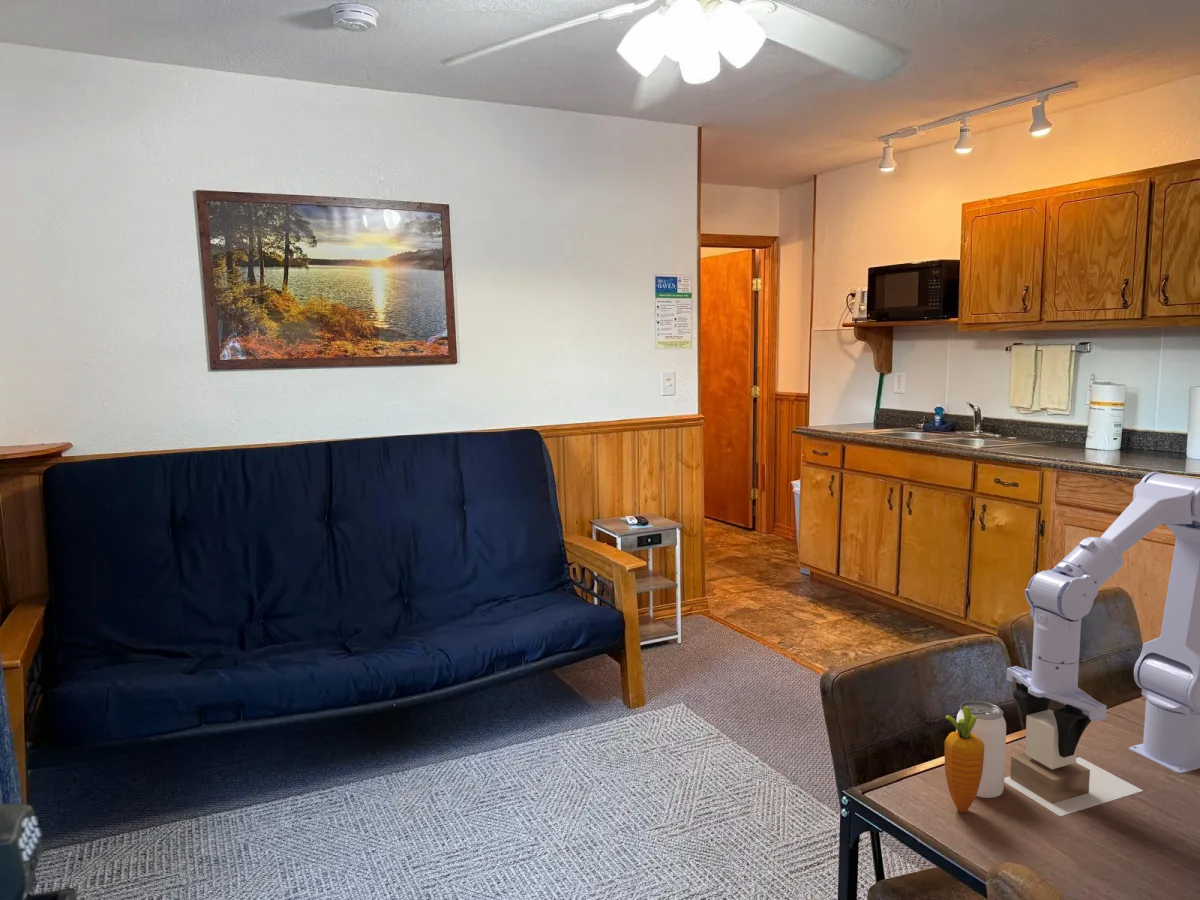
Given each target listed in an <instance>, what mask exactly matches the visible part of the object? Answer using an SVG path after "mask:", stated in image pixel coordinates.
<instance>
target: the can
mask: <svg viewBox="0 0 1200 900" xmlns="http://www.w3.org/2000/svg"><path fill="white" fill-rule="evenodd" d="M965 706H967V707H969V708H971V716H972V715H974V716H975V717H976V718H977V719H976V722H975V725H974V727H973V729H972V730H971V733H972V734H975V735H976V736H977V737H978V738H979V739H980V740H981V741H982V742H983V743H984V761H983V771H982V777H981V781H980V785H979V788H978V792H977V795H976V797H978V798H986V799H987V798H988V799H989V798H990V799H991V798H996V797H999V796H1001V795H1002V794H1003V792H1004V788H1005V782H1004V778H1005V773H1006V771H1005V769H1006V768H1005V767H1006V766H1005V765H1006V745H1007V744H1006V743H1007V742H1006V741H1007V722H1006V720H1005V718H1004V710H1002V709H1001V708H1000V707H999V706H997V705H995V704H993V703H989V702H986V701H981V700H980V701H979V700H970V701H965V702H963V703H961V705H960V706H959V710H958V713H957V715H956V721H957V723H958V722H959V720H960V719H964V713H963V707H965ZM955 732H957V730H956V729H955Z"/></svg>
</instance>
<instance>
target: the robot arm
mask: <svg viewBox="0 0 1200 900" xmlns="http://www.w3.org/2000/svg"><path fill="white" fill-rule="evenodd" d="M1160 525H1166V526H1167V527H1168V528H1167V529H1169V530H1170V531H1171V533H1172V534H1173V535H1174V536H1175V541H1174V542H1175V543H1174V548H1173V550H1174V551H1173V555H1172V562H1171V567H1170V568H1171V569H1170V574H1169V579H1168V585H1167V593H1166V599H1165V605H1164V610H1163V611H1164V612H1163V617H1162V624H1161V629H1160V635H1159V637H1156V638H1154V639H1150V640H1149V641H1146V642H1143V644H1142V649H1141V652H1140V655H1139V657H1138V659H1137V660H1136V661H1135V664H1134V667H1133V677H1134V678H1133V679H1134V682H1135V683H1136V685H1137V686H1138V687H1139V688H1141V695H1142V696H1143V697H1145V698H1146V700H1145V711H1144V712H1145V713H1144V723H1143V724H1144V725H1143V727H1144V729H1143V739H1142V741H1143V743H1139V744H1138V743H1137V744H1135V745H1133V746H1129V748H1128V751H1131V752H1133V753H1135V754H1138V755H1139V756H1142V757H1143V758H1146V759H1148V760H1150V761H1152V762H1154V763H1156V764H1158V765H1159V766H1162V767H1164V768H1166V769H1169V770H1170V771H1172V772H1175V773H1177V774H1186V773H1188V772H1191V771H1196V770H1198V769H1200V479H1198V478H1192V477H1187V476H1180V475H1174V474H1167V473H1163V472H1160V471H1151V472H1148V473H1147V474H1146V475H1144V476H1143V478H1142V479H1141V480H1140V482H1138V483H1137V484H1135V485H1134V486H1133V491H1132V501H1131V502H1130V503H1129V505H1128V506H1127V507H1126V508H1125V509H1124V510H1123V511H1122V512H1121V514H1120V515H1119V516H1118V517H1117V518H1116V519H1114V521H1113V523H1111V524H1110V526H1109V527H1108V528H1106V530H1105V531H1104V532H1103V533H1102V535H1101V536H1100V537H1097V536H1088V537H1086V538H1083V539H1082V540H1081V541H1080V542H1079V543H1078V545H1076V546H1075V547H1074V549H1073V550H1071V551H1070V552H1069V553H1068V554H1067V555H1066V556H1064V558H1063V559H1061V561H1059V562H1058V563H1057V564H1056V565H1055V566H1054V567H1053V568H1052V569H1046V570H1042V571H1038V572H1036V573H1035V574H1033V576H1032V577H1031V578H1030V580H1029V581H1028V585H1027V588H1025V589H1024V596H1025V600H1026V602H1027V604H1028V606H1029V607H1030V617H1031V619H1032V620H1033V633H1032V634H1033V636H1032V637H1033V639H1032V655H1031V656H1032V659H1031V670H1029V669H1025V668H1024V667H1023V668H1022V667H1020V666H1018V665H1015V666H1011V667H1007V668H1006V681H1008V682H1011V683H1018V684H1019V685H1020V687H1018V689H1015V690H1013V691H1012V692H1013V693H1012V697H1013V698H1014V699H1015V702H1016V703H1017V705H1018V707H1019V709H1020V710H1021V713H1022V716H1023V719H1024V723H1025V725H1026V720H1027V715H1030V714H1034V713H1038V712H1042V711H1046V710H1049V709H1048V708H1049V705H1050V702H1051V700H1053V701H1056V702H1058V703H1059V704H1061V705H1064V707H1061V708H1058V709H1055V710H1052V711H1053V714H1054V716H1055V719H1056V722H1057V727H1058V748H1059V755H1060V756H1062V757H1068V756H1072V755H1074V752H1075V750H1076V751H1077V748H1076V747H1078V744H1079V742H1080V740H1081V737H1082V735H1083V733H1084V732H1085V730H1086V728H1087V727H1088V726H1089V725H1090V723H1091V722H1092V721H1093V722H1100V721H1104V720H1107V708H1108V707H1107V705H1106V704H1103V703H1102V702H1100V701H1098V700H1096V699H1095V698H1093V696H1091V695H1089V694H1088V693H1087V692H1085V691H1084V690H1082V689H1081V688H1080V687H1078V683H1079V668H1080V667H1079V665H1080V647H1081V631H1082V618H1085V616H1087V615H1089V613H1090V612H1091V609H1092V607H1093V606H1094V603H1095V602H1094V601H1095V599H1096V598H1097V597H1098V595H1099V589H1100V588H1101V587H1102V586H1103V585H1104V584H1105V583H1106V582H1107V581H1108V580H1109V579H1110V578H1112V577H1113V576H1114V575H1115V574H1116V573H1117V572H1118V571H1120V569H1122V567H1123V566H1124V565H1123V564H1124V559H1123V554H1124V553H1126V552H1127V551H1128V550H1129V549H1131V548H1132V547H1133V546H1134V545H1136V544H1137V543H1138V542H1140V541H1141V540H1143V538H1144V537H1146V536H1147V535H1148V534H1150V533H1151V532H1152V531H1153V530H1155V529H1156V528H1157V527H1159V526H1160Z"/></svg>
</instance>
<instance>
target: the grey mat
mask: <svg viewBox="0 0 1200 900" xmlns="http://www.w3.org/2000/svg"><path fill="white" fill-rule="evenodd" d="M1076 763H1078V764H1080V765H1082V766H1084V767H1086V768H1087V769H1089V770H1090V780H1089V793H1087V794H1084V795H1080V796H1077V797H1074V798H1070V799H1067V800H1063V801H1060V802H1057V803H1053V804H1051V803H1050V802H1048V801H1046V800H1045V799H1043V798H1041V797H1040V796H1038V795H1036V794H1035V793H1033V792H1031V791H1030V790H1028V789H1027V788H1025V787H1023V786H1022V785H1020V784H1018V783H1017V782H1015V781H1013V780H1012V779H1010V776H1011V775H1010V776H1007V777H1004V784H1006V785H1008V786H1010V787H1011V788H1013V789H1015V791H1018V792H1020V793H1021V794H1022V795H1024V796H1025V797H1028V798H1029V799H1031V800H1032V801H1034V802H1035V803H1037V804H1039V805H1040V806H1042V807H1044V808H1046V809H1047V810H1048V811H1050V812H1052V813H1053V814H1055V815H1056V816H1058V817H1063V816H1067V815H1069V814H1072V813H1075V812H1079V811H1082V810H1086V809H1088V808H1092V807H1096V806H1099V805H1101V804H1105V803H1108V802H1112V801H1116V800H1119V799H1121V798H1124V797H1127V796H1128V797H1129V796H1132V795H1135V794H1138V793H1142V792H1144V790H1143V789H1141V788H1139V787H1137V786H1136V785H1134V784H1132V783H1129V782H1128V781H1126V780H1124V779H1122V778H1120V777H1118V776H1116V775H1115V774H1113V773H1111V772H1108V771H1107V770H1105V769H1103V768H1101V767H1100V766H1097V765H1096V764H1094V763H1091V762H1090V761H1088V760H1086V759H1084V758H1082V757H1076Z"/></svg>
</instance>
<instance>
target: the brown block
mask: <svg viewBox="0 0 1200 900" xmlns="http://www.w3.org/2000/svg"><path fill="white" fill-rule="evenodd" d="M1010 758H1011V759H1010V779H1012V780H1013V781H1015V782H1017V783H1018V784H1020V785H1022V786H1023V787H1025V788H1027V789H1028V790H1030V791H1031V792H1033V793H1035V794H1036V795H1038V796H1040V797H1041V798H1043V799H1045V800H1046V801H1048V802H1050V803H1051V804H1053V803H1057V802H1060V801H1063V800H1067V799H1070V798H1074V797H1077V796H1080V795H1084V794H1087V793H1089V780H1090V770H1089V769H1087V768H1086V767H1084V766H1082V765H1080V764H1078V763H1073V764H1069V765H1066V766H1062V767H1059V768H1055V769H1051V768H1049V767H1047V766H1045V765H1043V764H1042V763H1040V762H1038V761H1036V760H1035V759H1033V758H1031V757H1029V756H1027V755H1026V754H1025V752H1023V753H1019V754H1015V755H1012V756H1011V757H1010Z"/></svg>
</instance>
